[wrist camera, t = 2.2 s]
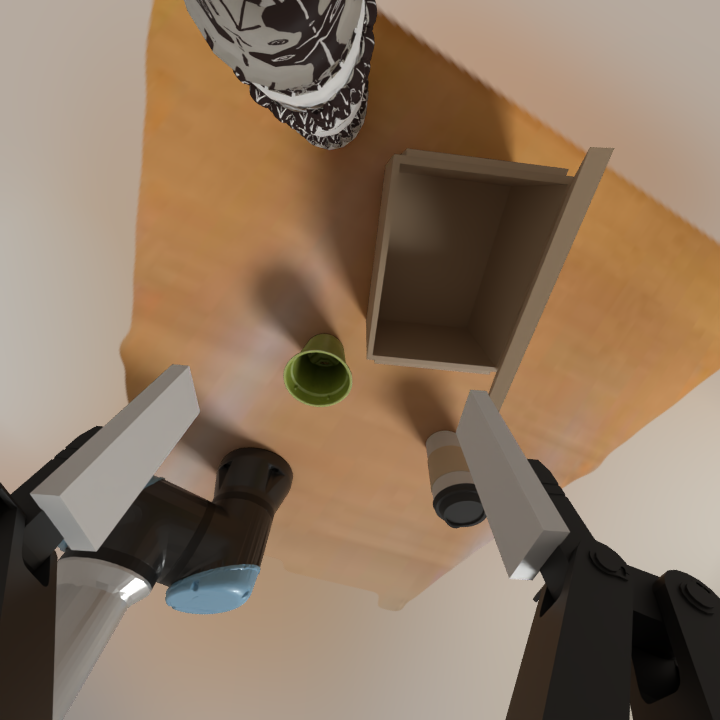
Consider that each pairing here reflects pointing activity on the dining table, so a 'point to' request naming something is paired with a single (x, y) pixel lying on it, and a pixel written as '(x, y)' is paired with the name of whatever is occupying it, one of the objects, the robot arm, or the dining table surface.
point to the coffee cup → (452, 482)
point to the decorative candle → (297, 59)
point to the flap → (550, 267)
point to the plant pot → (319, 373)
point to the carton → (456, 257)
